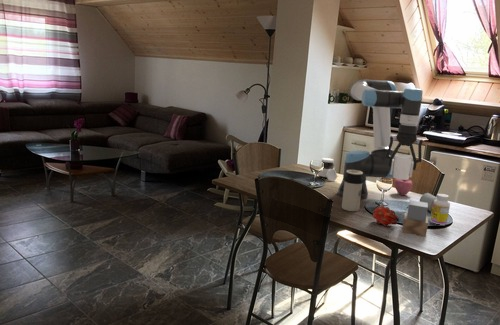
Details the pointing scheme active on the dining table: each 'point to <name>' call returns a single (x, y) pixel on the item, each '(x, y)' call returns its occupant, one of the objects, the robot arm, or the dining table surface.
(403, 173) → the white cup
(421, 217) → the gray block
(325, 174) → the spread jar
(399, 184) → the apple
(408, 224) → the walnut base block
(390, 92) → the robot arm
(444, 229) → the dining table surface
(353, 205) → the travel mug
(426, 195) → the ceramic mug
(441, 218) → the supplement bottle
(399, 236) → the dining table surface
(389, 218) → the dragon fruit
